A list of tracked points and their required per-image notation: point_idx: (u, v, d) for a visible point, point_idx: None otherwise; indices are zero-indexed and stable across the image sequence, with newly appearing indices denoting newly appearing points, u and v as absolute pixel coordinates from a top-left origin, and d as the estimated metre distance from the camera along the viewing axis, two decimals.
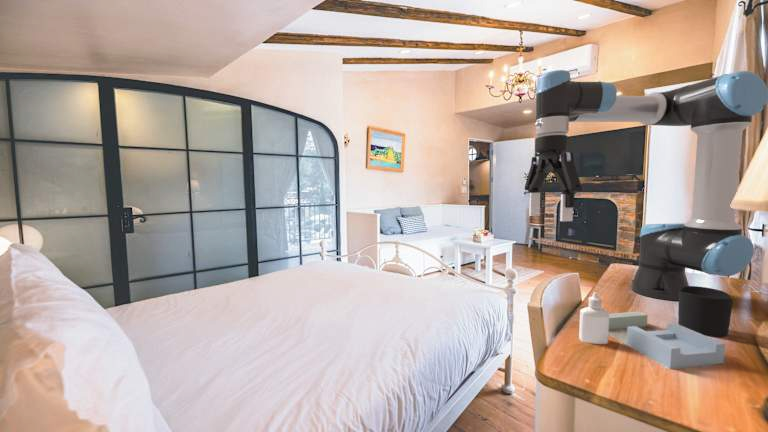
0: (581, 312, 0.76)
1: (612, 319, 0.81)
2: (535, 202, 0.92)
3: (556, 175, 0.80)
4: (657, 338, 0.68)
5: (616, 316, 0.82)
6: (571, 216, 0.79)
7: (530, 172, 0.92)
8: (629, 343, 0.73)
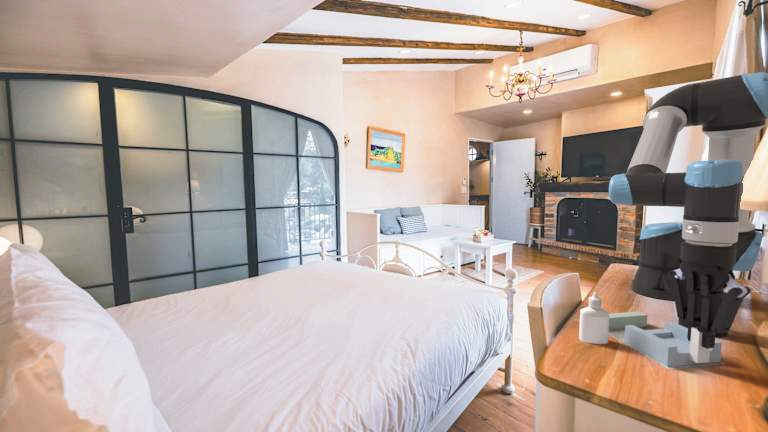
0: (581, 312, 0.76)
1: (612, 319, 0.81)
2: None
3: (704, 302, 0.62)
4: (654, 337, 0.68)
5: (616, 316, 0.82)
6: (708, 356, 0.64)
7: (676, 291, 0.67)
8: (627, 342, 0.74)
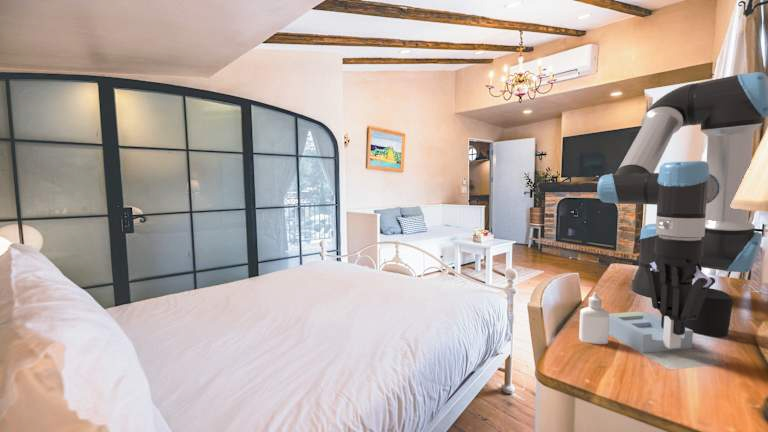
0: (581, 312, 0.76)
1: None
2: None
3: (675, 292, 0.67)
4: (632, 326, 0.74)
5: (616, 316, 0.82)
6: (679, 342, 0.69)
7: (651, 283, 0.73)
8: None
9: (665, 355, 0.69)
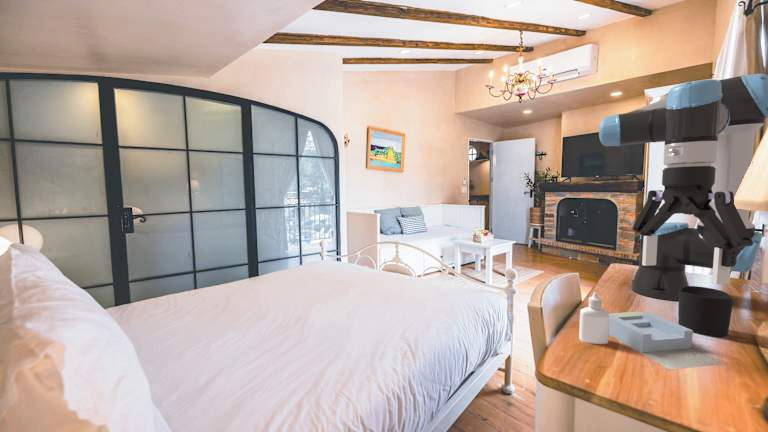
0: (581, 312, 0.76)
1: None
2: (651, 248, 0.71)
3: (703, 220, 0.60)
4: (631, 325, 0.74)
5: (616, 316, 0.82)
6: (728, 277, 0.58)
7: (645, 209, 0.71)
8: None
9: (665, 355, 0.69)
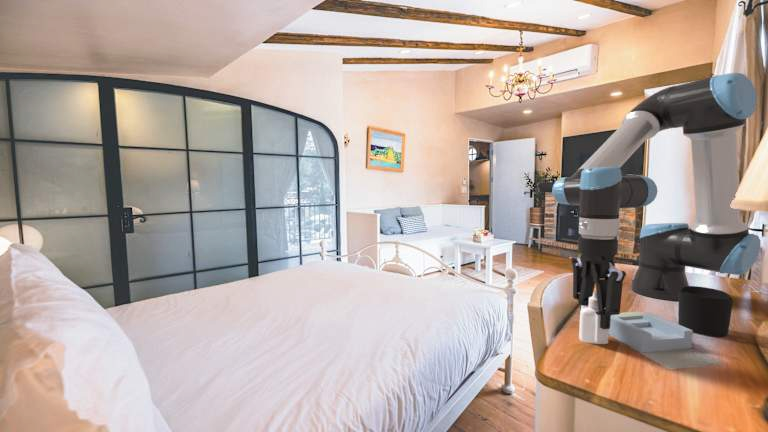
0: (581, 312, 0.76)
1: None
2: None
3: (597, 287, 0.72)
4: (631, 325, 0.74)
5: (616, 316, 0.82)
6: (606, 336, 0.73)
7: (575, 276, 0.79)
8: None
9: (665, 355, 0.69)
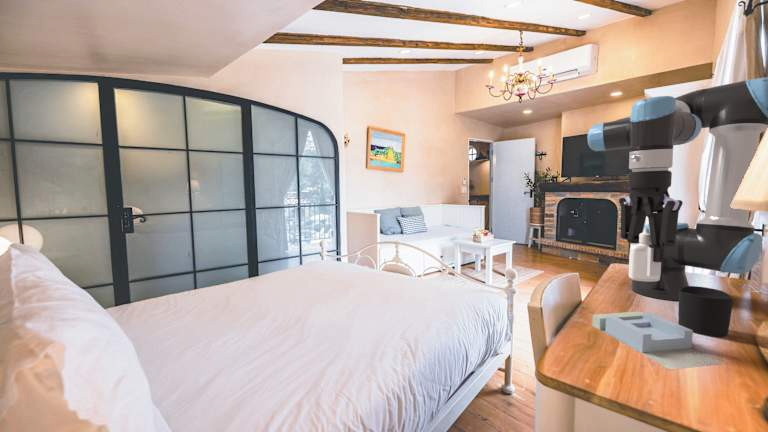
0: (632, 248, 0.75)
1: None
2: None
3: (650, 221, 0.72)
4: (631, 325, 0.74)
5: (616, 316, 0.82)
6: (659, 270, 0.73)
7: (623, 215, 0.79)
8: (607, 331, 0.79)
9: (665, 355, 0.69)
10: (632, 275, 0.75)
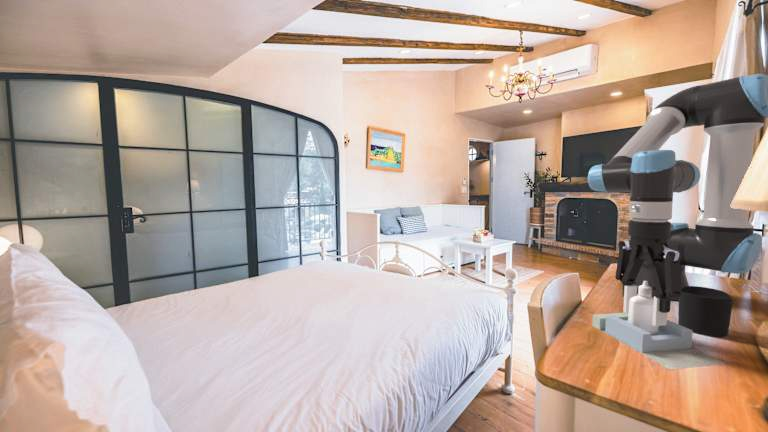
0: (631, 301, 0.76)
1: None
2: (631, 297, 0.79)
3: (653, 271, 0.72)
4: (631, 325, 0.74)
5: (616, 316, 0.82)
6: (665, 320, 0.72)
7: (620, 258, 0.81)
8: (607, 331, 0.79)
9: (665, 355, 0.69)
10: None
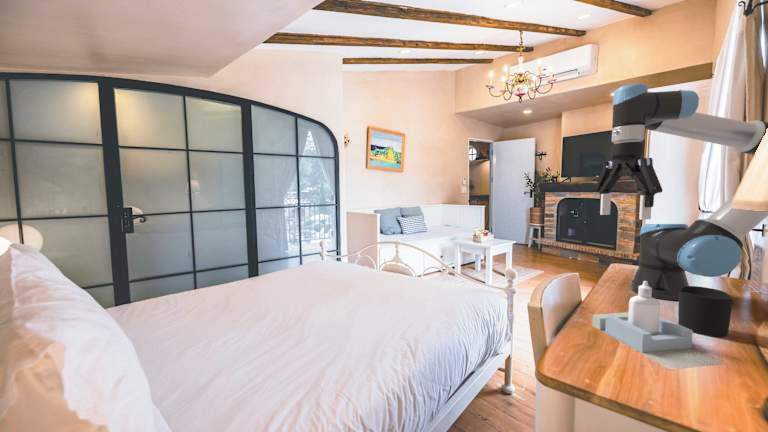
0: (631, 301, 0.76)
1: None
2: (606, 202, 1.01)
3: (634, 178, 0.89)
4: (631, 325, 0.74)
5: (616, 316, 0.82)
6: (649, 215, 0.88)
7: (602, 175, 1.01)
8: (607, 331, 0.79)
9: (665, 355, 0.69)
10: None
